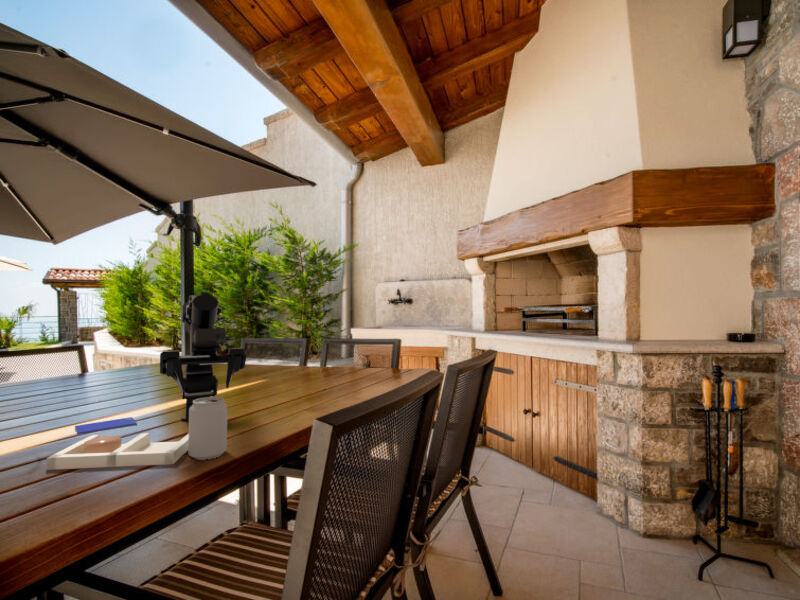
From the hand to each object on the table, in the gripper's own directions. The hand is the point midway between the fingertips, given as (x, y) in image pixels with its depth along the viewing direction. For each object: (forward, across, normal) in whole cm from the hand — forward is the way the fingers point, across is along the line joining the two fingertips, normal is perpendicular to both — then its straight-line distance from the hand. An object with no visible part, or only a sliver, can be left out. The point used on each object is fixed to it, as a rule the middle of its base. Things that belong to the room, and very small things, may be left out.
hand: (206, 389), depth 93 cm
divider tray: (+9, -14, +9) cm, 19 cm away
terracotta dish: (+7, -19, +10) cm, 23 cm away
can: (+14, 0, +4) cm, 15 cm away
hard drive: (-10, -22, +29) cm, 37 cm away
